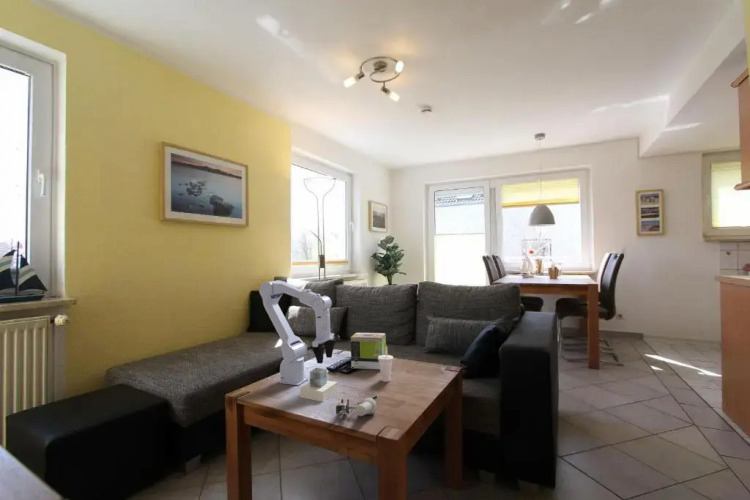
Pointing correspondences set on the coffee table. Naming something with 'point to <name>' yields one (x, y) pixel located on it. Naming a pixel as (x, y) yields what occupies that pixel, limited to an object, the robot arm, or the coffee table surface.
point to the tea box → (367, 350)
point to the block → (318, 377)
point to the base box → (318, 391)
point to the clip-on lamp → (358, 407)
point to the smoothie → (385, 366)
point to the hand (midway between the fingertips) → (324, 360)
